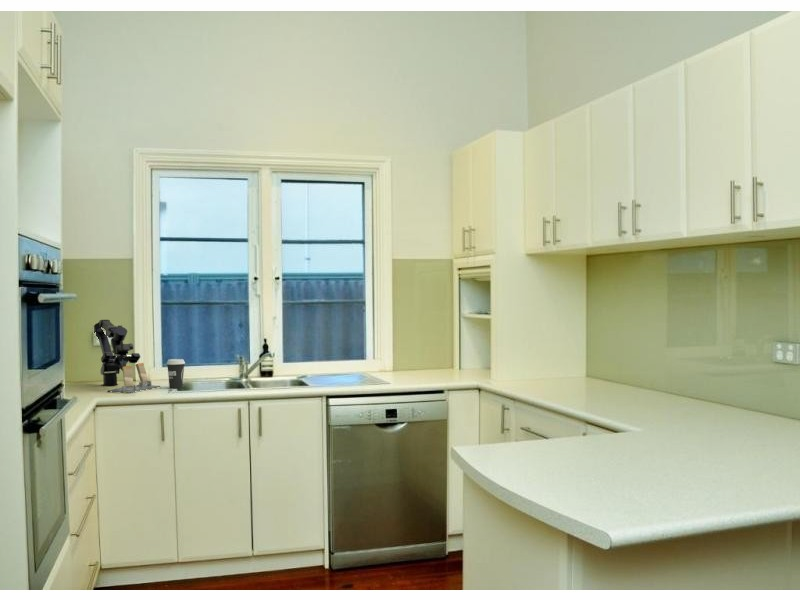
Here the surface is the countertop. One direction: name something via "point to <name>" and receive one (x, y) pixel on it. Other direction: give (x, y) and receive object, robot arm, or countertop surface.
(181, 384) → the coffee cup
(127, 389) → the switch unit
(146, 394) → the countertop surface
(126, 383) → the lever
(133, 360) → the robot arm
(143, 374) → the lever
